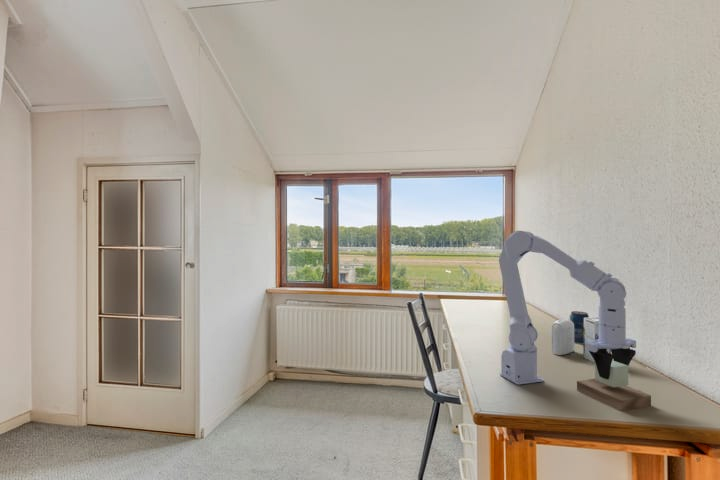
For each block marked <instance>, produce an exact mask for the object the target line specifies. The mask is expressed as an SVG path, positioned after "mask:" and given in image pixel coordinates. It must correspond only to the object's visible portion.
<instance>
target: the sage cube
mask: <svg viewBox="0 0 720 480" xmlns="http://www.w3.org/2000/svg"><path fill="white" fill-rule="evenodd" d="M594 376H595V377H594V379H595V380H597V381H600V382H602V383H604V384H607V385H609V386H612V387H619V386H625V385H626V386H629V366H628V365H625V364H622V363H619V362H616V361H614V360H612V363H611V367H610V376H609V379H604V378H602V377H600V376H599V373H598V369H597V366H596V363H594Z"/></svg>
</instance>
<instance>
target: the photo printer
mask: <svg viewBox="0 0 720 480" xmlns="http://www.w3.org/2000/svg"><path fill="white" fill-rule="evenodd" d="M574 351H575V343H574V323H573V322H572V321H571V320H570V318H568V319H567V318H560V319H558V320H555V322H553V323H552V326H551V353H553V354H554V355H557V356H565V355H568V354H571V353H573V352H574Z"/></svg>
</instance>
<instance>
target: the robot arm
mask: <svg viewBox="0 0 720 480" xmlns="http://www.w3.org/2000/svg"><path fill="white" fill-rule="evenodd" d="M530 252H531V253H538V254H543V255H544V256H546V257H548V258H550V259H552V260H553V261H554V262H556V263H558V264H559V265H561V266H563V267H564V268H566V269H567V270H568V271H569V275H570V277H571V278H572V279H574V280H576V281H577V282H579V283H580V284H582V285H583V286H585V287H586V288H588V289H589V290H591V291H593V292H597V294H598V296H599V305H598V317H599V339H598V340H595V341H593V342H589V343H587V350H589V352H590V354H591V355H592V357H593V359H594V361H595V363H596V366H597V369H598V373H599V376H600V377H602V378H604V379H609V376H610V367H611V363H612V360H613V361H616V362H619V363H622V364H625V365H628V367H629V366H630V363H631V362H632V360H633V358H634V357H635V356H636V352H637V351H636V350H635V349H636V348H637V340H636V339H632V338H626V336H627V335H626V334H627V333H626V329H627V327H626V326H627V325H626V323H627V322H626V318H627V317H626V316H627V315H626V313H627V312H626V310H627V309H626V307H625V306H626V301H625V298H627V297H626V296H627V291H626V287H625V285H624V284H623V282H621V280H619V279H618V278H615V277H613V275H612V274H611V273H610V272H609V273H606V272H604V270H602V269H600V268H599V267H597V266H595V265H596V264H595V263H594V262H593V261H591V260H590V261H587V260H585V259H581V260H576V259H575V258H573V257H572V256H570V255H569V254H567V253H566V252H564V251H563V250H561V249H560V248H558V247H557V246H556V245H554V244H552V243H551V242H550V241H548V240H546V239H544V238H542V237H541V236H538V235H534V234H533V233H532V232H531V231H524V230H516V231H514V232H512V233H511V234H509V236H508V237H507V238H506V239H505V240H504V244H503V247H502V249H501V252H500V254H499V257H498V263H499V268H500V273H501V277H502V283H503V288H504V292H505V296H506V297H505V298H506V302H507V306H508V307H507V308H508V311H509V317H510V320H509V329H510V332H509V335H508V341H509V343H510V345H509V348H508V349H504V350H502V353H501V358H500V359H501V360H500V361H501V363H500V364H501V372H500V373H499V375H500V376H501V377H503V378H505V379H507V380H509V381H510V382H512V383H514V384H515V385H519V386H520V385H527V384H534V383H539V382H540V383H541V382H542V383H543V382H544V381H545V379H544V378H542V377H540V376H538V348H537V346H536V344H535V342H536V340H537V339H538V335H539V334H538V331H537V329H536V328H535V326H534V325H533V322H532V318H531V317H530V315H529V313H528V308H527V303H526V299H525V293H524V289H523V284H522V280H521V275H520V271H519V265H518V263H519V262H520V261H521V260H522V258H523V257H524V256H525V255H526V254H527V253H530ZM632 348H633V349H632ZM607 350H611V354H610V353H608V351H607ZM595 363H594V364H595Z"/></svg>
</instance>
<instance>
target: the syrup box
mask: <svg viewBox="0 0 720 480" xmlns="http://www.w3.org/2000/svg"><path fill="white" fill-rule="evenodd" d="M598 339H599V316H598V317H597V316H595V317H590V316H589V317H584V344H582V345H583V351H582V352H583V353H582V354H583V355H582V356H583V359H586V360H587V361H590V362H592V363H594V364H595V361H594V359H593V357H592V355H591V354H590V352H589V350H587V343H589V342H593V341H595V340H598ZM607 351H608V353H610V354H612V352H611V350H607Z"/></svg>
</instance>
